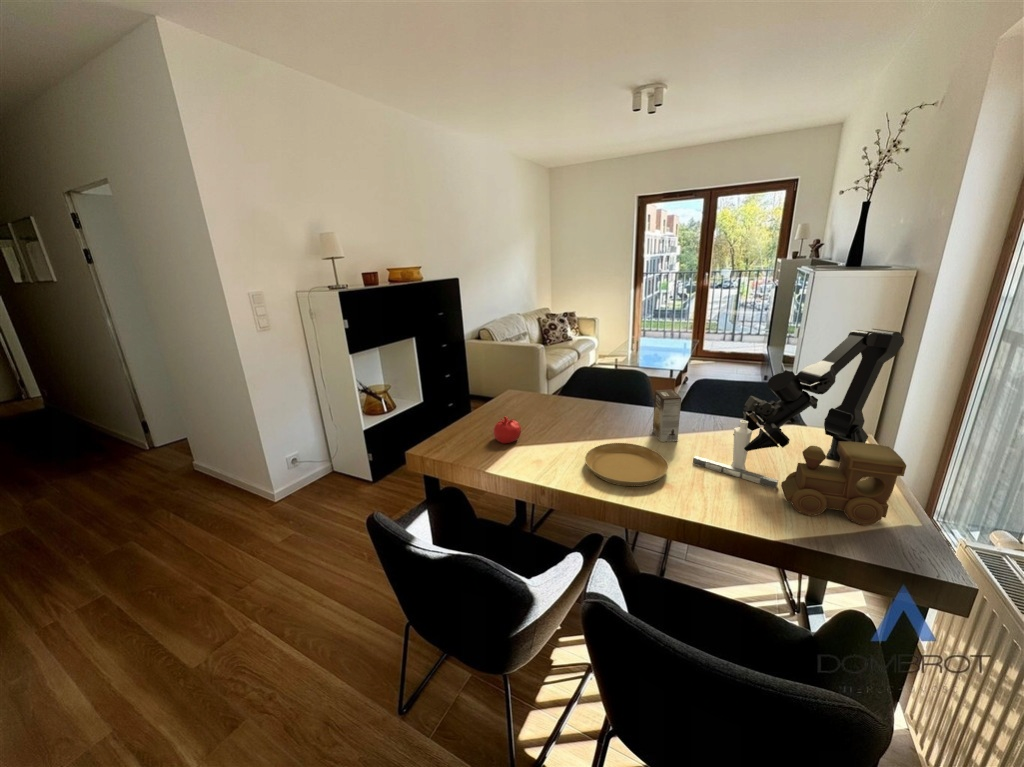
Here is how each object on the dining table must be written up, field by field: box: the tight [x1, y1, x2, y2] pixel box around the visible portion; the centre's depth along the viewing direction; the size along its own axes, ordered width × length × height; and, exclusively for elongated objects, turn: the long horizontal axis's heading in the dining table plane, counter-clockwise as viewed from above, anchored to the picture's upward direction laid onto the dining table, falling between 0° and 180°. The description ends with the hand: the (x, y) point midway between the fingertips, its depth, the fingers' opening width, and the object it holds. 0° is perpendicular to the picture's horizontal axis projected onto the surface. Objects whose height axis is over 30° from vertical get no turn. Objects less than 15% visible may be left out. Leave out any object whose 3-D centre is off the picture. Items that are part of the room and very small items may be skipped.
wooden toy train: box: [780, 441, 907, 526], centre depth 97 cm, size 20×11×17 cm, turn 66°
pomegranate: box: [493, 416, 522, 444], centre depth 145 cm, size 10×10×9 cm
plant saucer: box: [584, 442, 669, 487], centre depth 122 cm, size 24×24×3 cm
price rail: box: [692, 455, 779, 490], centre depth 116 cm, size 2×22×2 cm, turn 45°
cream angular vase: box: [730, 419, 753, 470], centre depth 117 cm, size 5×4×15 cm
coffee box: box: [652, 388, 682, 442], centre depth 140 cm, size 9×6×16 cm
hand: (739, 442), depth 117 cm, fingers open, 9 cm apart
